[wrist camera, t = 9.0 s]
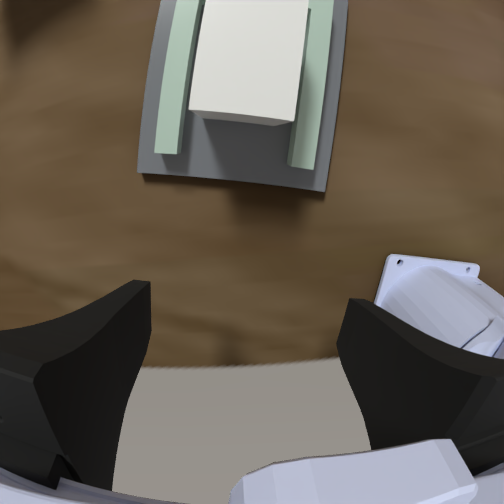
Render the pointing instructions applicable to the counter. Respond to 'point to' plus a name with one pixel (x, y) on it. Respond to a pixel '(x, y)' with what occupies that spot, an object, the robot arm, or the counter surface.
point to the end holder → (240, 133)
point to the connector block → (249, 60)
